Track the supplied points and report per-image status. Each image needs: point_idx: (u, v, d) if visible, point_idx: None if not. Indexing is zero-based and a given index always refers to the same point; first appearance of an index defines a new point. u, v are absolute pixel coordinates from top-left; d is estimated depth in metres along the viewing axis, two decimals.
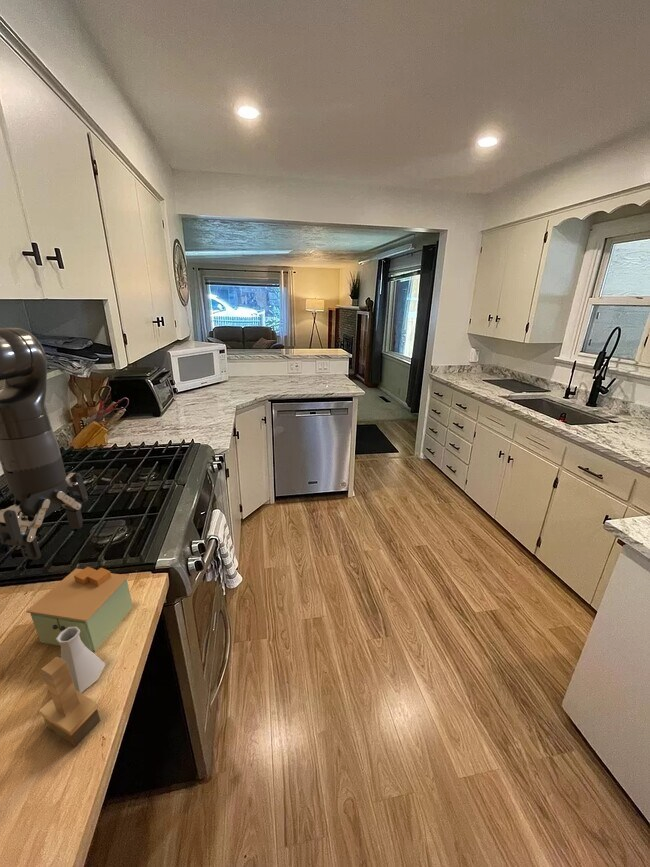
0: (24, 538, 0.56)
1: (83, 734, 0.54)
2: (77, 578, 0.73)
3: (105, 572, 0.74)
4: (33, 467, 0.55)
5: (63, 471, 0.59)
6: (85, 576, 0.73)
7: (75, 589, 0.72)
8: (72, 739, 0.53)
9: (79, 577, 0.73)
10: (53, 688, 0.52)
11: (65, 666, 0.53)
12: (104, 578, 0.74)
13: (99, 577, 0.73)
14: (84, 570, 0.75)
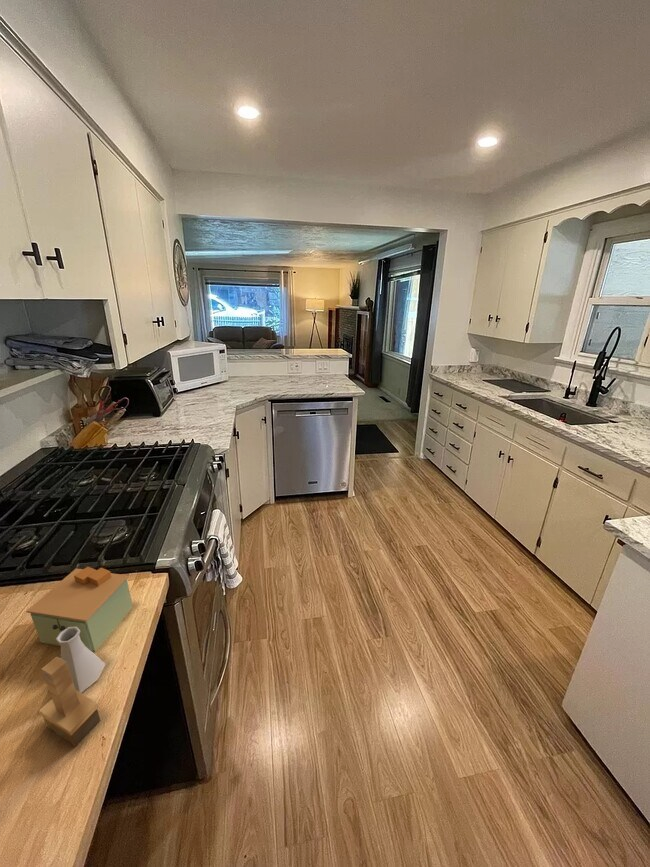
0: None
1: (83, 734, 0.54)
2: (77, 578, 0.73)
3: (105, 572, 0.74)
4: None
5: None
6: (85, 576, 0.73)
7: (75, 589, 0.72)
8: (72, 739, 0.53)
9: (79, 577, 0.73)
10: (53, 688, 0.52)
11: (65, 666, 0.53)
12: (104, 578, 0.74)
13: (99, 577, 0.73)
14: (84, 570, 0.75)
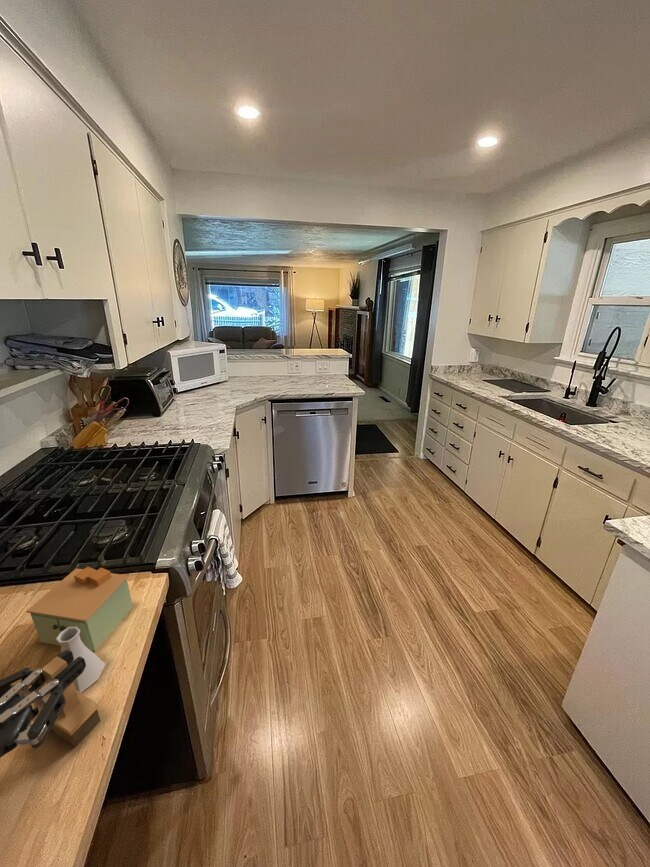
0: None
1: (83, 734, 0.54)
2: (77, 578, 0.73)
3: (105, 572, 0.74)
4: None
5: None
6: (85, 576, 0.73)
7: (75, 589, 0.72)
8: (72, 739, 0.53)
9: (79, 577, 0.73)
10: None
11: (65, 666, 0.53)
12: (104, 578, 0.74)
13: (99, 577, 0.73)
14: (84, 570, 0.75)
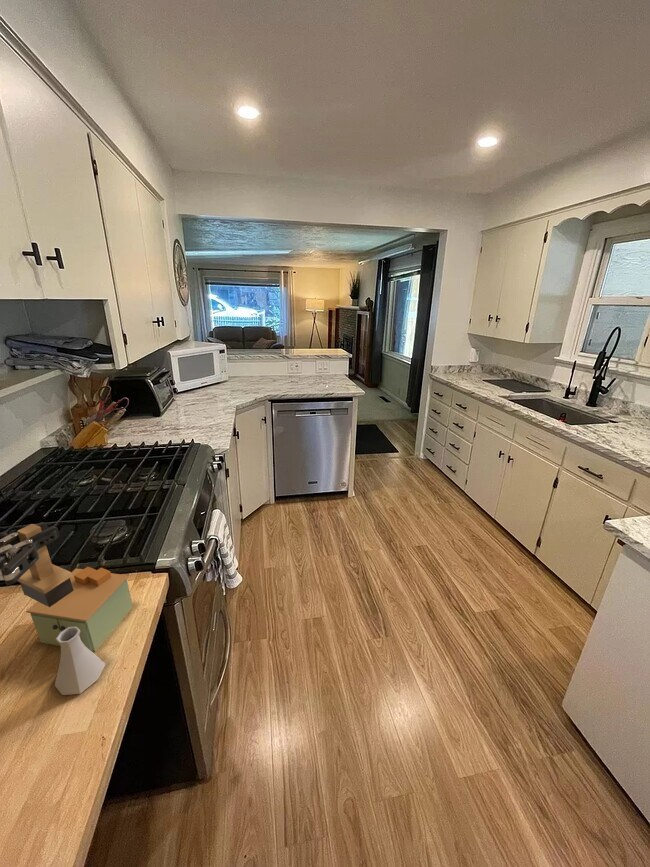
0: (11, 545, 0.57)
1: (57, 597, 0.59)
2: (77, 578, 0.73)
3: (105, 572, 0.74)
4: None
5: None
6: (85, 576, 0.73)
7: (75, 589, 0.72)
8: (46, 599, 0.58)
9: (79, 577, 0.73)
10: None
11: (39, 531, 0.57)
12: (104, 578, 0.74)
13: (99, 577, 0.73)
14: (84, 570, 0.75)
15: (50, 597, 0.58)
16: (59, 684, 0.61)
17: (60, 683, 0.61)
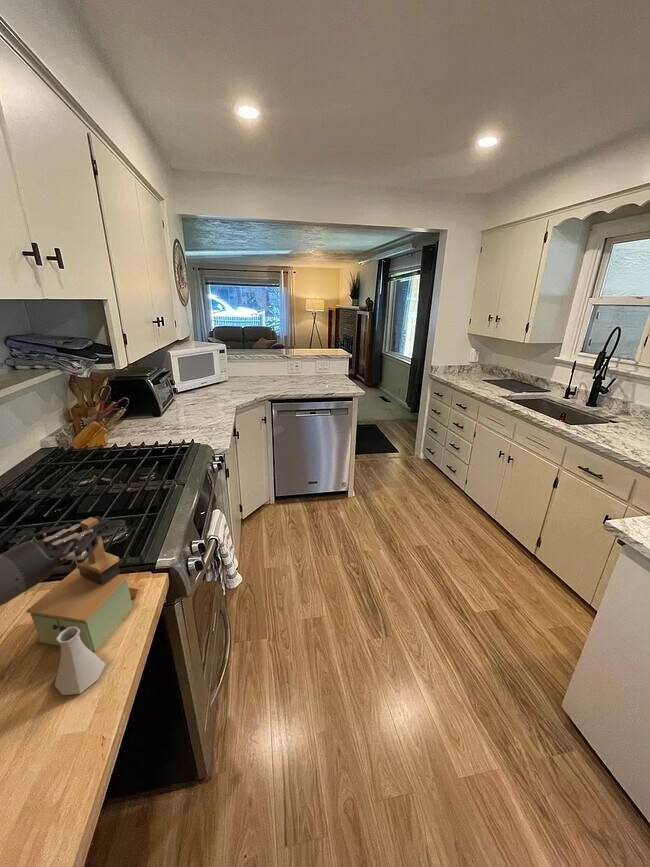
0: None
1: (108, 577, 0.73)
2: None
3: None
4: None
5: None
6: None
7: (75, 589, 0.72)
8: (100, 578, 0.72)
9: None
10: None
11: (97, 522, 0.72)
12: None
13: None
14: None
15: (103, 576, 0.72)
16: (59, 684, 0.61)
17: (60, 683, 0.61)
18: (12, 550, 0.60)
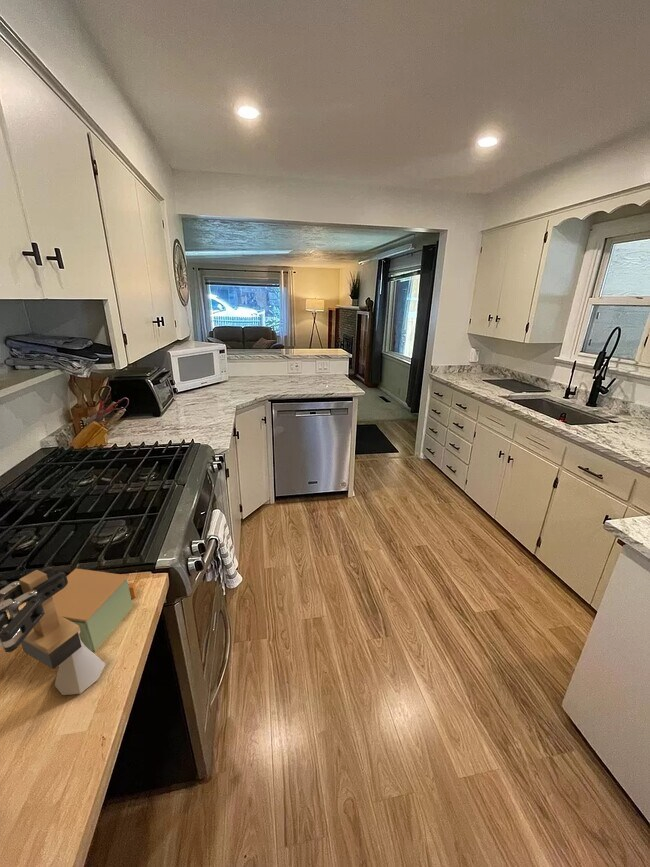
0: None
1: (62, 657, 0.50)
2: None
3: None
4: None
5: None
6: None
7: (75, 589, 0.72)
8: (50, 660, 0.49)
9: None
10: None
11: (45, 579, 0.49)
12: (134, 590, 0.81)
13: None
14: None
15: (55, 657, 0.49)
16: (59, 684, 0.61)
17: (60, 683, 0.61)
18: None
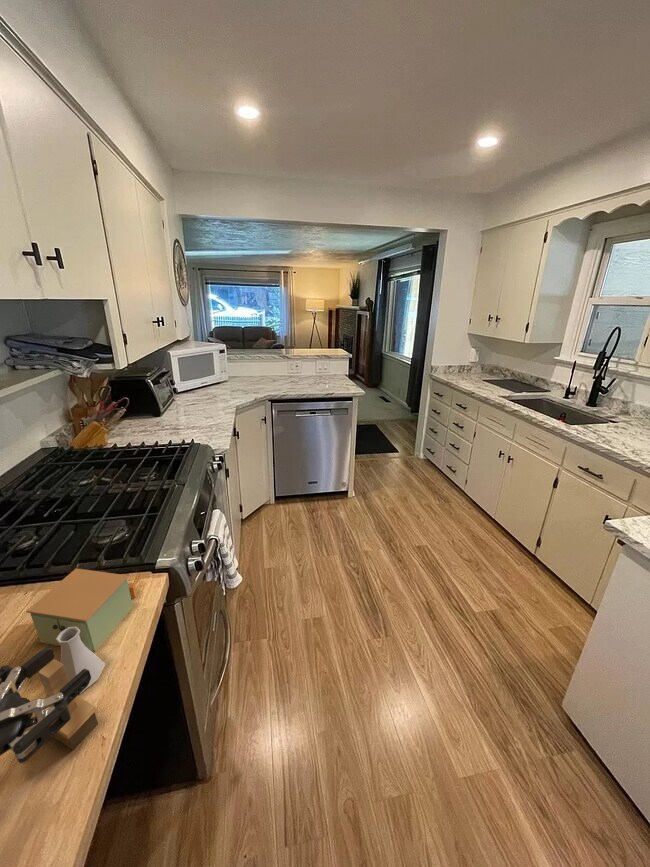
0: None
1: (81, 737, 0.54)
2: None
3: None
4: None
5: None
6: None
7: (75, 589, 0.72)
8: (69, 743, 0.53)
9: None
10: (50, 691, 0.52)
11: (62, 669, 0.52)
12: (134, 590, 0.81)
13: None
14: None
15: (74, 739, 0.53)
16: None
17: None
18: None
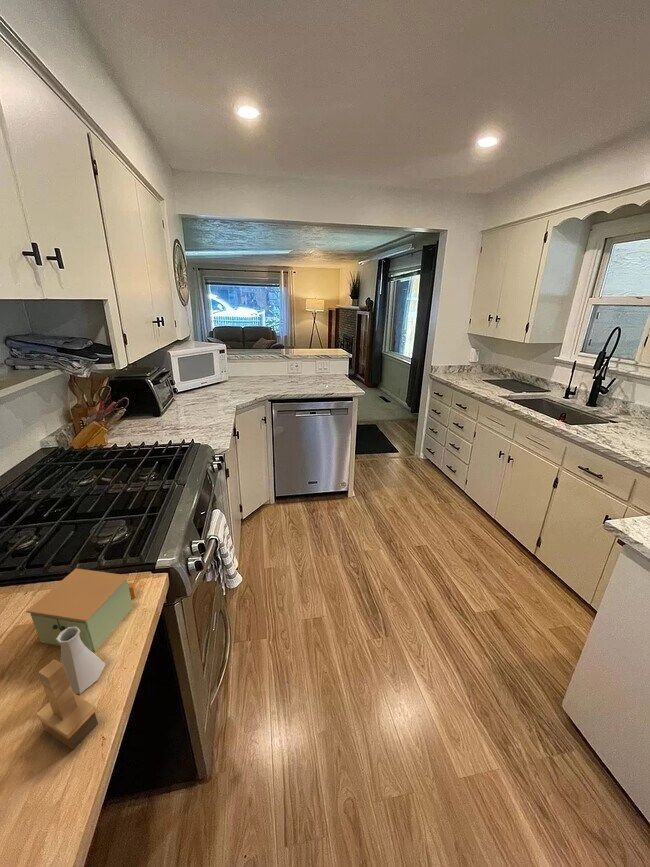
0: None
1: (81, 737, 0.54)
2: None
3: None
4: None
5: None
6: None
7: (75, 589, 0.72)
8: (69, 743, 0.53)
9: None
10: (50, 691, 0.52)
11: (62, 669, 0.52)
12: (134, 590, 0.81)
13: None
14: None
15: (74, 740, 0.53)
16: None
17: None
18: None
